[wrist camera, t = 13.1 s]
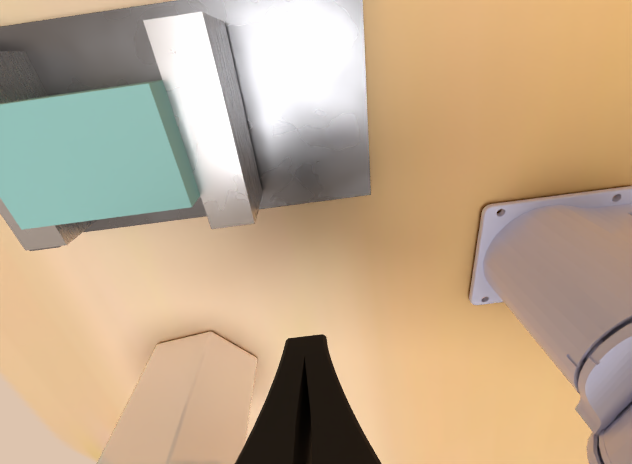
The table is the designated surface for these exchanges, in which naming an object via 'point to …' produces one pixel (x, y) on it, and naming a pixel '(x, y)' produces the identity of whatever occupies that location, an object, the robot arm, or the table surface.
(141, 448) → the jar
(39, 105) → the block
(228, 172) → the jaw
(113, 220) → the vise
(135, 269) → the table surface
